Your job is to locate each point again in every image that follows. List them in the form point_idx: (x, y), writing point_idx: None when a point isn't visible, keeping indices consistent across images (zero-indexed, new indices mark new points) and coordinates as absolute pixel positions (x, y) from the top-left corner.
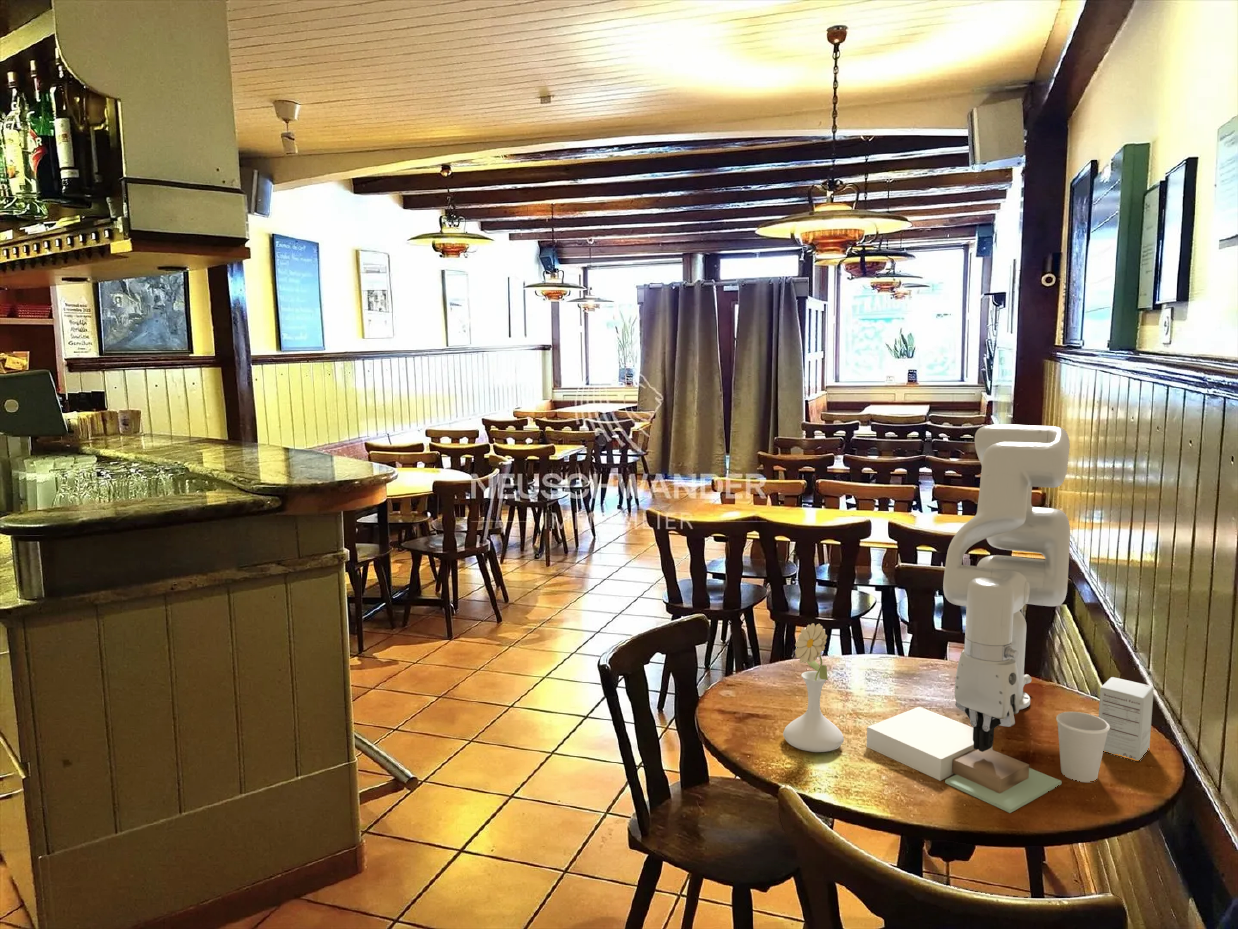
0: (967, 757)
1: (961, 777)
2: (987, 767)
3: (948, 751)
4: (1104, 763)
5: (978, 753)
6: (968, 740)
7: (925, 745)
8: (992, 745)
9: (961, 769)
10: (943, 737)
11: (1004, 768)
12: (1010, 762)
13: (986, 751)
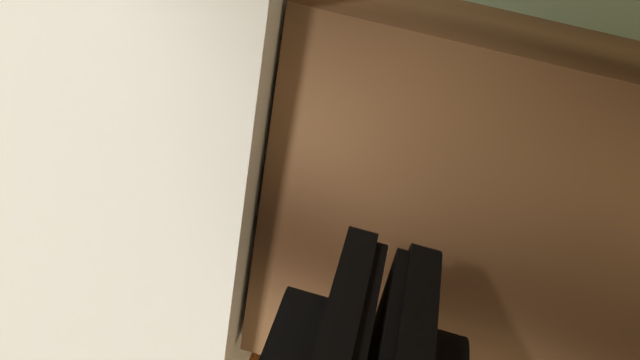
0: (298, 284)
1: None
2: (472, 351)
3: (183, 353)
4: None
5: (334, 184)
6: (175, 96)
7: (41, 347)
8: (464, 336)
9: None
10: (14, 168)
11: (596, 313)
12: (633, 193)
13: (373, 102)
